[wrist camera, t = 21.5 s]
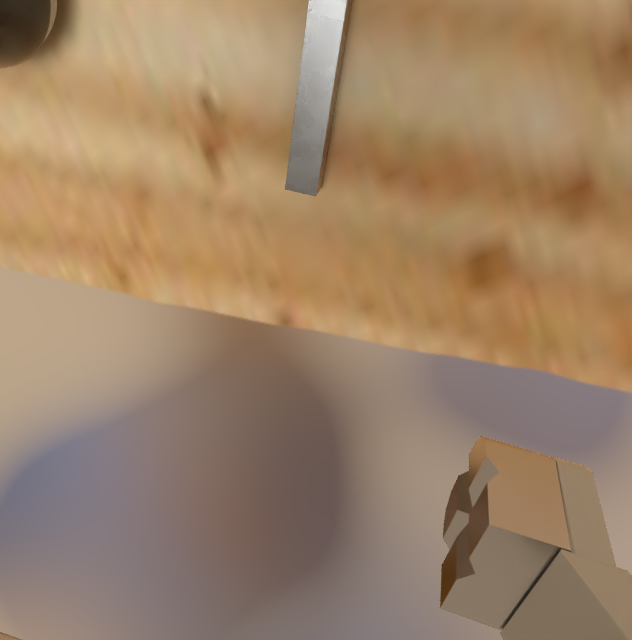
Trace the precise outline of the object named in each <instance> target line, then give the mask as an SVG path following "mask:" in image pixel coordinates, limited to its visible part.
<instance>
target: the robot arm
mask: <svg viewBox="0 0 632 640" xmlns="http://www.w3.org/2000/svg"><path fill="white" fill-rule="evenodd" d="M443 539H444V541H445V542H446V544H447V546H448V547H449V549H450V550H449V552H448V554H447V556H446V558H445V560H444V562H443V563H442V569H441V597H440V608H441V609H444V610H447V611H449V612H452V613H455V614H458V615H460V616H463V617H466V618H469V619H472V620H474V621H477V622H480V623H482V624H485V625H488V626H491V627H493V628H496V629H499V630H502V631H501V633H500V634H501V636H502V638H503V640H632V575H631V574H630V573H629V572H628V571H627V570H623V569H621V568H618V567H616V564H615V560H614V556H613V552H612V548H611V545H610V540H609V537H608V533H607V529H606V525H605V521H604V517H603V513H602V509H601V505H600V501H599V497H598V493H597V489H596V485H595V481H594V477H593V473H592V472H591V470H590V469H589V468H588V467H587V466H583V465H580V464H577V463H573V462H569V461H566V460H562V459H559V458H555V457H548V456H546V455H542V454H539V453H536V452H532V451H529V450H526V449H522V448H519V447H516V446H512V445H509V444H506V443H503V442H499V441H496V440H492V439H489V438H486V437H483V436H481V437H480V438H479V439H478V440H477V441H476V443H475V445H474V446H473V448H472V450H471V452H470V454H469V471H468V472H466V473H464V474H461V475H459V476H458V478H457V480H456V482H455V484H454V487H453V489H452V491H451V494H450V497H449V501H448V504H447V507H446V512H445V519H444V528H443ZM0 640H21V639H18V638H16V637H13V636H10V635H7V634H4V633H2V632H0Z"/></svg>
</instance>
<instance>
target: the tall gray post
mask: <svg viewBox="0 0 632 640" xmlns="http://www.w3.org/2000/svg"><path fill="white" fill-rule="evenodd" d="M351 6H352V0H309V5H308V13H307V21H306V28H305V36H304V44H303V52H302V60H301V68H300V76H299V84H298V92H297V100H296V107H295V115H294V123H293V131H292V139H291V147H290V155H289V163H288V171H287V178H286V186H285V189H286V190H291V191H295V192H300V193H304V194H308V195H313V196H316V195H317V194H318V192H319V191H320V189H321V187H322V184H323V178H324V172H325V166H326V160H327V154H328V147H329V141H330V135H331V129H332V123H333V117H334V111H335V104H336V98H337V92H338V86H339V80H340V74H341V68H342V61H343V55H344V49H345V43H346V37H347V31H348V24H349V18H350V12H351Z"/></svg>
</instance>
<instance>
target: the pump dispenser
mask: <svg viewBox="0 0 632 640" xmlns="http://www.w3.org/2000/svg"><path fill="white" fill-rule="evenodd" d="M56 12H57V0H0V69H1V68H7V67H11V66H15V65H18V64H21V63H23V62H25V61H27V60H28V59H30V58H31V57H32V56H33V55H34V54H35V53H36V52H37V51H38V50H39V48H40V47H41V45H42V44H43V42H44V41H45V39H46V38H47V37H48V35H49V33H50V31H51V29H52V27H53V24H54V21H55V17H56Z"/></svg>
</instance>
